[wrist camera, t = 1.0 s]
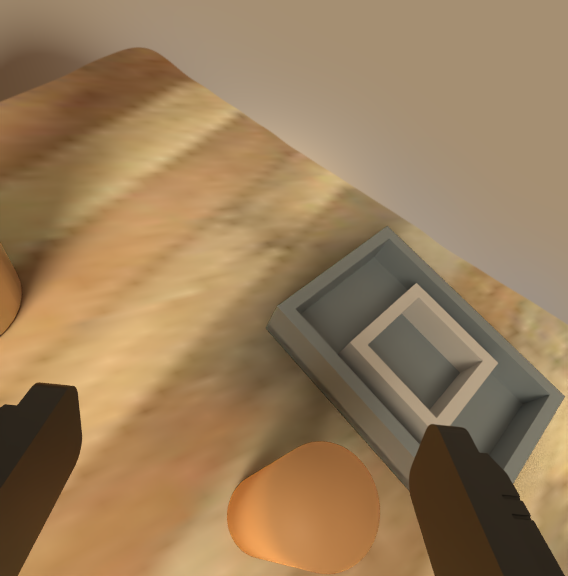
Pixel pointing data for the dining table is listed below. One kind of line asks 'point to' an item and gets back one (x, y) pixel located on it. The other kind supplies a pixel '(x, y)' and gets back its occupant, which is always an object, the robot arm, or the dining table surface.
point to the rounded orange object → (307, 510)
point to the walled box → (412, 358)
